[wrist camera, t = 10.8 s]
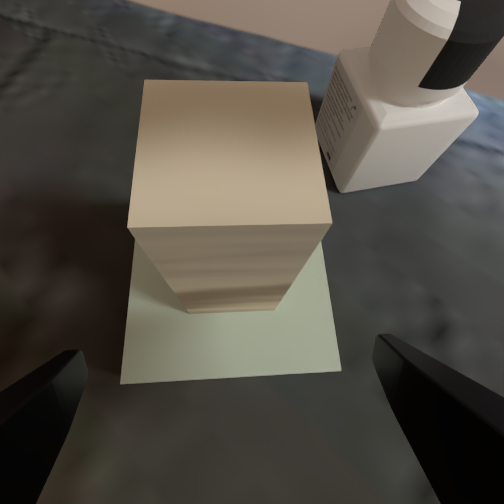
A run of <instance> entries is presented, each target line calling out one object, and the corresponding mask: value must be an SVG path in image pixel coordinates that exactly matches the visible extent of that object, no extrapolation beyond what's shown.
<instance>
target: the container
mask: <svg viewBox="0 0 504 504" xmlns="http://www.w3.org/2000/svg"><path fill="white" fill-rule="evenodd" d="M503 36H504V0H390V2H389V5H388V7H387V10H386V12H385V14H384V17H383V19H382V21H381V24H380V26H379V28H378V31H377V33H376V36H375V38H374V40H373V43H372V45H371V47H366V48H355V49H345V50H342V51H340V53H339V54H338V57H337V60H336V63H335V66H334V69H333V72H332V75H331V78H330V81H329V84H328V87H327V90H326V93H325V96H324V99H323V102H322V105H321V108H320V111H319V114H318V117H317V120H316V123H315V129H316V134H317V138H318V141H319V143H320V146H321V148H322V151H323V153H324V156H325V158H326V161H327V163H328V166H329V168H330V171H331V174H332V176H333V179H334V181H335V184H336V186H337V189H338V191H339V192H340V193H347V192H353V191H358V190H364V189H370V188H376V187H382V186H388V185H394V184H399V183H405V182H411V181H415V180H417V179H418V178H419V177H420V176H421V175H422V174H423V173H424V172H425V171H426V170H427V169H428V168H429V167H430V166H431V165H432V164H433V163H434V162H435V161H436V159H437V158H438V157H439V156H440V155H441V154H442V153H443V152H444V151H445V150H446V149H447V148H448V147H449V146H450V145H451V144H452V143H453V142H454V141H455V139H456V138H457V137H458V136H459V135H460V134H461V133H462V132H463V131H464V130H465V129H466V128H467V127H468V126H469V125H470V124H471V123H472V122H473V121H474V120H475V118H476V117H477V116H478V113H479V112H478V109H477V108H476V106H475V105H474V103H473V102H472V100H471V99H470V97H469V96H468V95H467V93H466V92H465V90H464V89H463V86H464V85H465V83H466V82H467V81H468V80H469V79H470V77H471V76H472V75H473V73H474V72H475V71H476V70H477V68H478V67H479V66H480V65H481V64H482V62H483V61H484V60H485V59H486V57H487V56H488V55H489V54H490V52H491V51H492V50H493V49H494V47H495V46H496V45H497V44H498V42H499V41H500V40H501V39H502V37H503Z"/></svg>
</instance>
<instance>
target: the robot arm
mask: <svg viewBox="0 0 504 504" xmlns="http://www.w3.org/2000/svg"><path fill="white" fill-rule="evenodd" d="M372 361H373V364H374V367H375V369H376V372H377V374H378V377H379V379H380V382H381V384H382V387H383V389H384V392H385V394H386V397H387V399H388V402H389V404H390V406H391V409H392V411H393V413H394V415H395V417H396V419H397V421H398V422H399V424H400V426H401V428H402V430H403V432H404V434H405V436H406V438H407V440H408V442H409V444H410V446H411V447H412V449H413V451H414V453H415V455H416V457H417V459H418V461H419V463H420V465H421V467H422V469H423V470H424V472H425V474H426V476H427V478H428V480H429V482H430V484H431V486H432V488H433V490H434V492H435V494H436V495H437V497H438V499H439V501H440V503H441V504H504V397H502V396H500V395H499V394H497V393H495V392H493V391H491V390H490V389H488V388H486V387H484V386H483V385H481V384H479V383H477V382H475V381H474V380H472V379H470V378H468V377H466V376H465V375H463V374H461V373H459V372H457V371H456V370H454V369H452V368H450V367H449V366H447V365H445V364H443V363H441V362H440V361H438V360H436V359H434V358H432V357H431V356H429V355H427V354H425V353H423V352H422V351H420V350H418V349H416V348H414V347H413V346H411V345H409V344H407V343H406V342H404V341H402V340H400V339H398V338H397V337H395V336H393V335H391V334H378V335H377V336H376V337H375V341H374V347H373V352H372ZM87 377H88V371H87V367H86V363H85V359H84V355H83V352H82V351H81V350H66V351H64V352H62V353H60V354H59V355H57V356H56V357H54V358H53V359H51V360H50V361H48V362H46V363H45V364H43V365H42V366H40V367H39V368H37V369H36V370H34V371H32V372H31V373H29V374H28V375H26V376H25V377H23V378H22V379H20V380H18V381H17V382H15V383H14V384H12V385H11V386H9V387H8V388H6V389H4V390H3V391H1V392H0V504H36V502H37V500H38V498H39V496H40V494H41V491H42V489H43V487H44V485H45V483H46V481H47V478H48V476H49V474H50V472H51V470H52V468H53V465H54V463H55V461H56V459H57V457H58V454H59V452H60V450H61V448H62V446H63V444H64V441H65V439H66V437H67V434H68V432H69V430H70V427H71V424H72V421H73V419H74V416H75V413H76V410H77V407H78V404H79V401H80V398H81V395H82V392H83V389H84V387H85V384H86V381H87Z"/></svg>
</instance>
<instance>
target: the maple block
mask: <svg viewBox="0 0 504 504" xmlns="http://www.w3.org/2000/svg"><path fill="white" fill-rule="evenodd" d="M331 225H332V218H331V213H330V207H329V201H328V196H327V190H326V185H325V179H324V173H323V168H322V162H321V157H320V151H319V145H318V140H317V134H316V129H315V123H314V117H313V112H312V106H311V101H310V95H309V89H308V84H307V82H253V81H191V80H144V89H143V97H142V106H141V114H140V123H139V131H138V140H137V148H136V157H135V166H134V174H133V183H132V191H131V200H130V208H129V217H128V225H127V228H128V229H129V231H130V232H131V234H132V235H133V236H134V238H135V239H136V240H137V242H138V243H139V245H140V246H141V247H142V249H143V250H144V252H145V253H146V254H147V256H148V257H149V258H150V260H151V261H152V263H153V264H154V265H155V267H156V268H157V270H158V271H159V272H160V274H161V275H162V276H163V278H164V279H165V281H166V282H167V283H168V285H169V286H170V288H171V289H172V290H173V292H174V293H175V294H176V296H177V297H178V299H179V300H180V301H181V303H182V304H183V305H184V307H185V308H186V310H187V311H188V312H189V314H201V313H224V312H247V311H270V310H275V309H276V308H277V306H278V305H279V303H280V302H281V300H282V299H283V297H284V296H285V294H286V293H287V291H288V290H289V288H290V287H291V285H292V283H293V282H294V280H295V279H296V277H297V276H298V274H299V273H300V271H301V270H302V268H303V267H304V265H305V264H306V262H307V261H308V259H309V258H310V256H311V255H312V253H313V252H314V250H315V249H316V247H317V246H318V244H319V243H320V241H321V240H322V238H323V237H324V235H325V234H326V232H327V231H328V229H329V228H330V226H331Z"/></svg>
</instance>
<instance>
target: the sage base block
mask: <svg viewBox="0 0 504 504" xmlns="http://www.w3.org/2000/svg"><path fill="white" fill-rule="evenodd" d="M331 371H341V365H340V358H339V352H338V346H337V339H336V333H335V327H334V320H333V314H332V308H331V301H330V295H329V289H328V282H327V276H326V270H325V263H324V257H323V251H322V244H321V241H320V243H319V244H318V246H317V247H316V249H315V250H314V252H313V253H312V255H311V256H310V258H309V259H308V261H307V262H306V264H305V265H304V267H303V268H302V270H301V271H300V273H299V274H298V276H297V277H296V279H295V280H294V282H293V283H292V285H291V287H290V288H289V290H288V291H287V293H286V294H285V296H284V297H283V299H282V300H281V302H280V303H279V305H278V306H277V308H276V309H275V310H270V311H247V312H224V313H201V314H189V312H188V311H187V310H186V308H185V307H184V305H183V304H182V303H181V301H180V300H179V299H178V297H177V296H176V294H175V293H174V292H173V290H172V289H171V288H170V286H169V285H168V283H167V282H166V281H165V279H164V278H163V276H162V275H161V274H160V272H159V271H158V270H157V268H156V267H155V265H154V264H153V263H152V261H151V260H150V258H149V257H148V256H147V254H146V253H145V252H144V250H143V249H142V247H141V246H140V245H139V243H138V242H137V240H136V239H135V246H134V255H133V265H132V275H131V284H130V294H129V303H128V313H127V323H126V332H125V342H124V351H123V361H122V371H121V380H120V384H133V383H150V382H166V381H183V380H199V379H215V378H232V377H248V376H265V375H281V374H298V373H314V372H331Z"/></svg>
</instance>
